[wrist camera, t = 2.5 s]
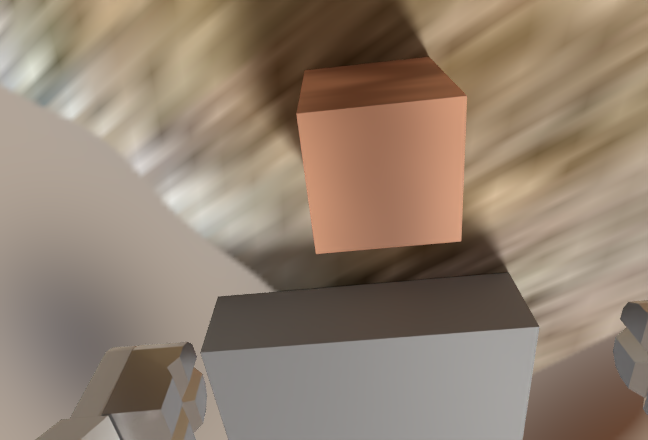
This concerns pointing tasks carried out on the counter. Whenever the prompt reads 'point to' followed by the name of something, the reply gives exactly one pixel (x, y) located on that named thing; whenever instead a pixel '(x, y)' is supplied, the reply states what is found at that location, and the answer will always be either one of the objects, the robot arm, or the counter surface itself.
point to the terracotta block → (383, 154)
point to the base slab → (374, 361)
